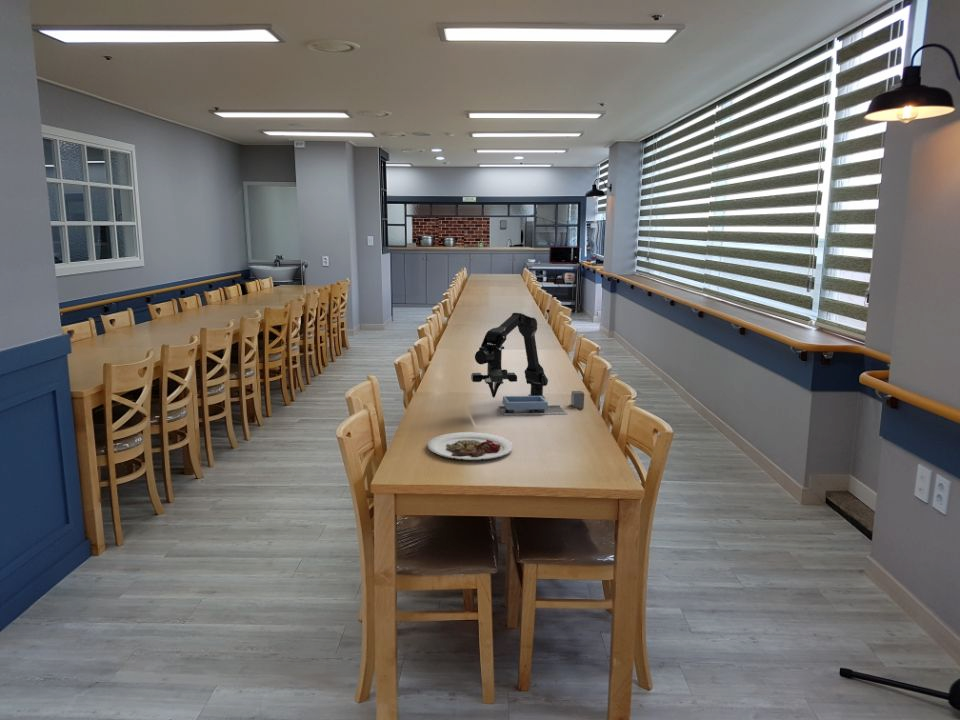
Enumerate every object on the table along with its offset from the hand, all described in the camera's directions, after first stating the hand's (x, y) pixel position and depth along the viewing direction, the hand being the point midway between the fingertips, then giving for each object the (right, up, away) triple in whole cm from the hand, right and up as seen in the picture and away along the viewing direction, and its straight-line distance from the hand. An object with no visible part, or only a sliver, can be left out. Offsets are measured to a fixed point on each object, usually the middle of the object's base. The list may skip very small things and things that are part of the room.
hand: (493, 397), depth 289 cm
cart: (+13, -6, +3) cm, 15 cm away
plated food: (-9, -16, -47) cm, 50 cm away
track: (+17, -7, +4) cm, 18 cm away
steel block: (+37, -5, +13) cm, 40 cm away
